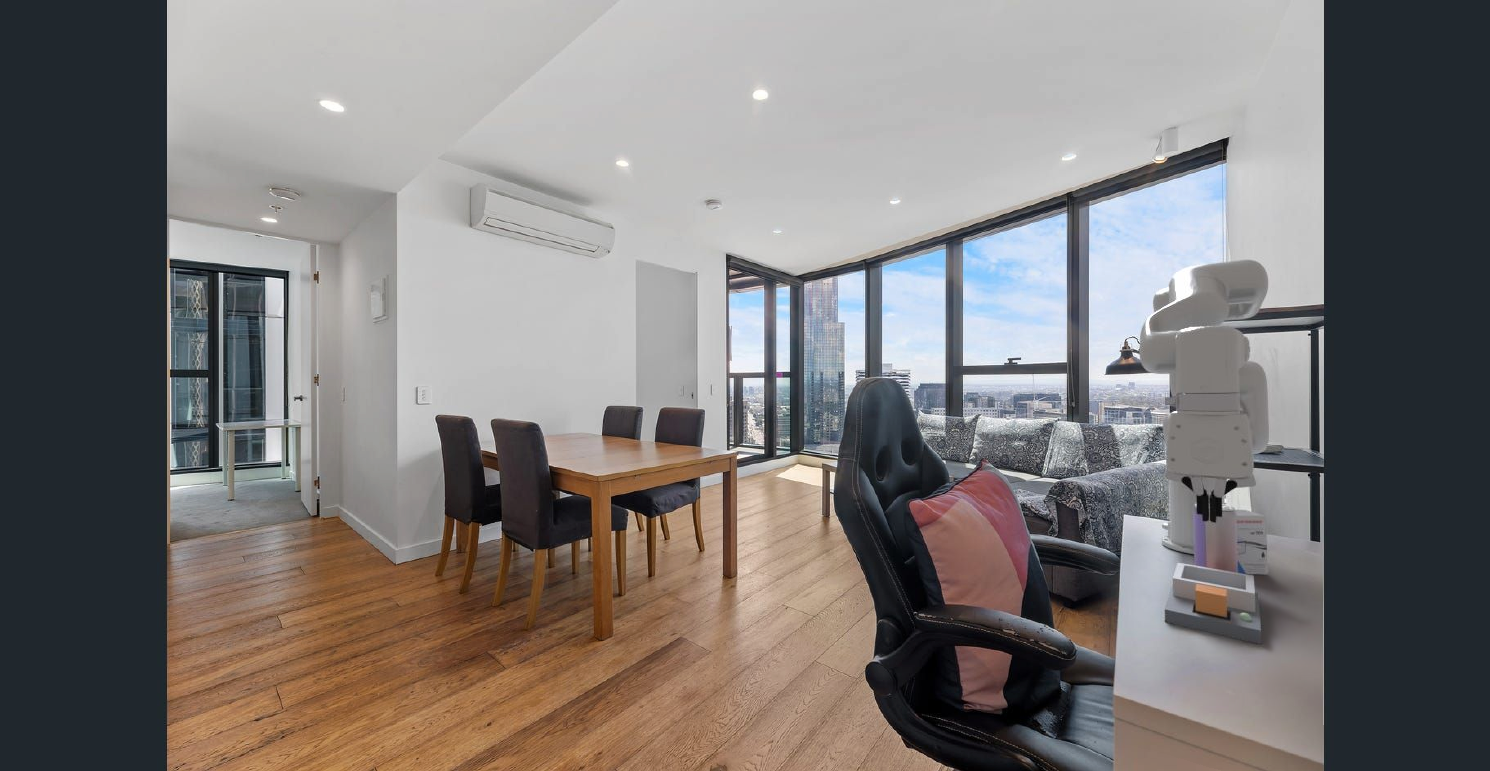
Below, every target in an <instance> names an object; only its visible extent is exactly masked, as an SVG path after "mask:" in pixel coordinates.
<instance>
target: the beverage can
mask: <svg viewBox="0 0 1490 771" xmlns="http://www.w3.org/2000/svg"><path fill="white" fill-rule="evenodd" d="M1235 510H1236V509H1235V507H1233V506H1231V505H1226V504H1225V505H1222V517H1217V520H1216V523H1214V522H1212V521H1210V504H1209V521H1207V522H1206V521H1202V515H1200V514H1197V503H1196V504H1195V508H1194V554H1193V555H1194V557H1193V558H1194V565H1195V566H1201V567H1206V568H1212V569H1218V570H1224V571H1230V572H1236V573H1238V560H1237V515H1236V512H1235Z"/></svg>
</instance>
